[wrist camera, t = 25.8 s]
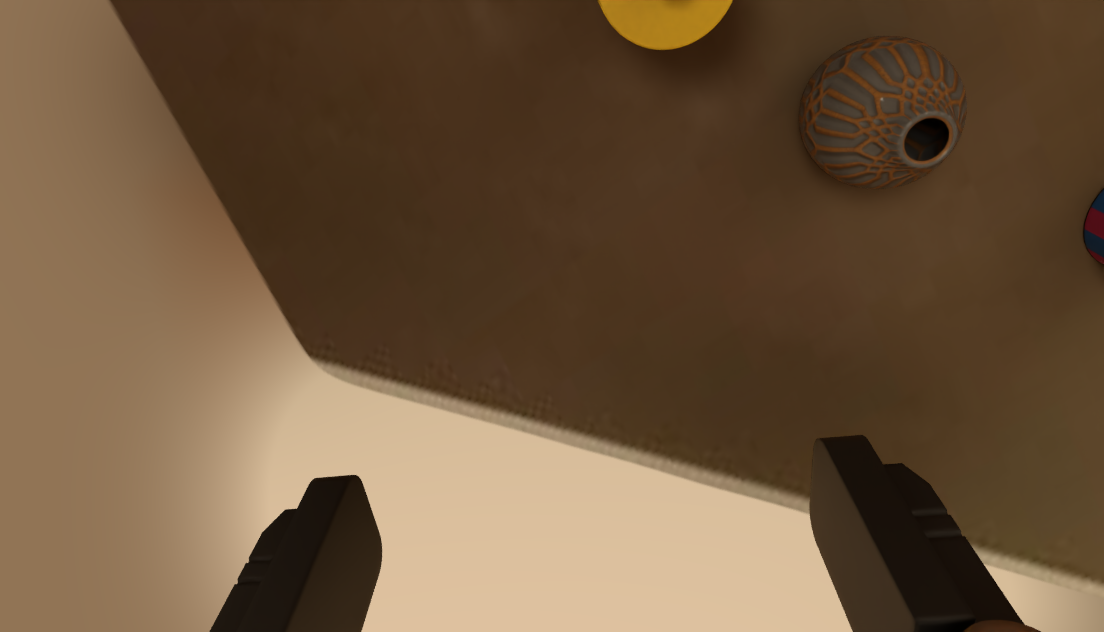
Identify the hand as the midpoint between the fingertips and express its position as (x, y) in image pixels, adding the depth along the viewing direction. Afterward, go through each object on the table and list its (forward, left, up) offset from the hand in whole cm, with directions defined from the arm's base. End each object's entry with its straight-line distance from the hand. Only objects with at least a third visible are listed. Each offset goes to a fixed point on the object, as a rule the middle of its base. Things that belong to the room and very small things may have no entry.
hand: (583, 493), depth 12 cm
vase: (+14, -4, -28) cm, 32 cm away
